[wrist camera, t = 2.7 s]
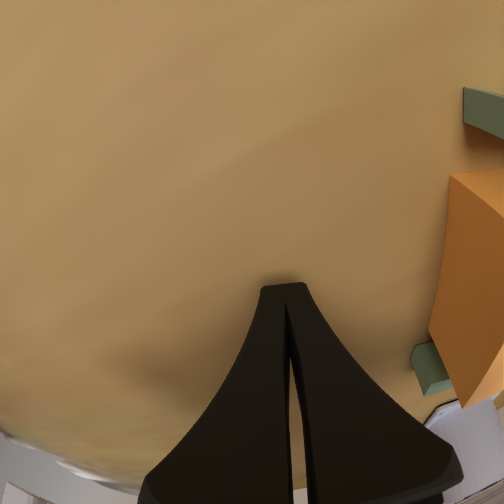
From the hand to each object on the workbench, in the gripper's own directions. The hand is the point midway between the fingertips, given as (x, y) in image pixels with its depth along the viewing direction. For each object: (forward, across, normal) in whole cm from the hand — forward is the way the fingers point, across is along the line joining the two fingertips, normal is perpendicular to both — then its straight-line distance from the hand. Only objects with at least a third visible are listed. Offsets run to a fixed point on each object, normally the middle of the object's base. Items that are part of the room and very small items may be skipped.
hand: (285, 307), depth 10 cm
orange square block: (+2, -11, 0) cm, 11 cm away
